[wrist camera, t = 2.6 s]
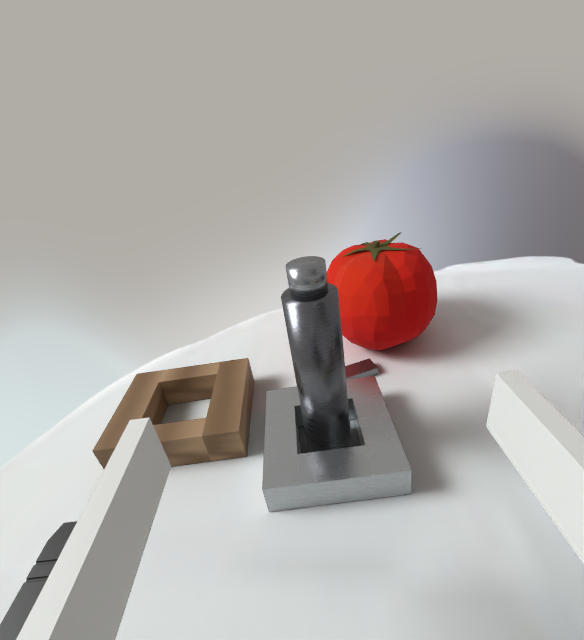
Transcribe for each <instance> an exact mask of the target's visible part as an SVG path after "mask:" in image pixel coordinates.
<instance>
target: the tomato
mask: <svg viewBox="0 0 584 640" xmlns="http://www.w3.org/2000/svg"><path fill="white" fill-rule="evenodd" d="M399 234H400V233H398V234H397V235H395V236H394V237H393V238H391V239H390V240H388V241H387V240H379V241H373V242H371V243H368V242H366V243H363V244H365V245H363V244H361V245H354V246H351V247H349V248H347V249H344V250H343V251H342V252H340V253H339V254H338V255H337V256H336V257H335V258H334V259H333V260H332V262H331V264H330V266H329V269H328V271H327V283H330V284H333V285H335V286H336V287H337V289H338V296H339V307H340V318H341V329H342V335H343V336H344V337H345V338H347V339H348V340H349V341H350V342H352V343H354V344H357V345H359V346H362V347H365V348H367V349H371V350H385V349H387V348H390V347H393V346H396V345H399V344H401V343H404V342H407V341H410V340H412V339H414V338H416V337H417V336H418V335H419V334H421V333H422V332H423V331H424V330H425V329H426V327H427V326H428V324H429V323H430V321H431V320H432V318H433V316H434V315H435V310H436V304H437V286H436V279H435V276H434V272H433V269H432V266H431V265H430V263H429V262H428V261H427V259H426V258H425V257H424V255H423V254H422V253H421V251H420V250H419V248H416V247H413V246H411V245H408V244H405V243H390V242H392V241H393V240H394V239H395V238H396V237H397V236H398V235H399Z"/></svg>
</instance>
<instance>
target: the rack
mask: <svg viewBox="0 0 584 640" xmlns="http://www.w3.org/2000/svg"><path fill="white" fill-rule="evenodd" d="M253 384H254V379H253V375H252V371H251V367H250V363H249V359H248V358H245V359H238V360H231V361H224V362H217V363H210V364H203V365H196V366H189V367H182V368H175V369H168V370H161V371H154V372H147V373H140V374H137V375H136V376H135V378H134V380H133V381H132V383H131V385H130V387H129V388H128V390H127V392H126V394H125V395H124V397H123V399H122V401H121V402H120V404H119V406H118V407H117V409H116V411H115V413H114V414H113V416H112V418H111V420H110V421H109V423H108V425H107V427H106V428H105V430H104V432H103V434H102V435H101V437H100V439H99V440H98V442H97V444H96V446H95V447H94V449H93V453H94V454H95V456H96V457H97V459H98V461H99V462H100V464H101V465H102V467H103V469H105V467H106V465H107V463H108V461H109V459H110V457H111V455H112V454H113V452H114V450H115V448H116V446H117V444H118V442H119V440H120V438H121V436H122V434H123V432H124V430H125V428H126V427H127V425H128V423H129V421H130V420H134V419H142V418H150V420H151V422H152V424H153V427H154V429H155V431H156V433H157V435H158V438H159V440H160V442H161V444H162V447H163V449H164V451H165V453H166V455H167V458H168V460H169V462H170V464H171V467H172V466H179V465H187V464H195V463H202V462H210V461H217V460H225V459H232V458H240V457H247V448H248V437H249V426H250V416H251V405H252V395H253ZM210 398H211V401H210V405H209V409H208V413H207V417H206V418H201V419H194V420H187V421H179V422H172V423H165V424H161V421H162V419H163V416H164V414H165V411H166V409H167V406H168V404H174V403H182V402H189V401H196V400H203V399H210Z"/></svg>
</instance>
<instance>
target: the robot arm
mask: <svg viewBox="0 0 584 640" xmlns="http://www.w3.org/2000/svg"><path fill="white" fill-rule="evenodd" d="M486 427H487V429H488V430H489V432H490V433H491V434H492V436H493V437H494V439H495V440H496V441H497V443H498V444H499V446H500V447H501V449H502V450H503V451H504V453H505V454H506V456H507V457H508V458H509V460H510V461H511V463H512V464H513V465H514V467H515V468H516V470H517V471H518V472H519V474H520V475H521V477H522V478H523V479H524V481H525V482H526V484H527V485H528V487H529V488H530V489H531V491H532V492H533V494H534V495H535V496H536V498H537V499H538V501H539V502H540V503H541V505H542V506H543V508H544V509H545V510H546V512H547V513H548V515H549V516H550V517H551V519H552V520H553V522H554V523H555V525H556V526H557V527H558V529H559V530H560V532H561V533H562V534H563V536H564V537H565V539H566V540H567V541H568V543H569V544H570V546H571V547H572V548H573V550H574V551H575V553H576V554H577V555H578V557H579V558H580V560H581V561H582V563H583V564H584V436H583V435H582V434H581V433H580V432H579V431H578V430H577V429H576V428H575V427H574V426H573V425H572V424H571V423H570V422H569V421H568V420H567V419H566V418H565V417H564V416H563V415H562V414H561V413H560V412H559V411H558V410H557V409H556V408H555V407H554V406H553V405H552V404H551V403H550V402H549V401H548V400H547V399H546V398H545V397H544V396H543V395H542V394H541V393H540V392H538V391H537V390H536V389H535V388H534V387H533V386H532V385H531V384H530V383H529V382H528V381H527V380H526V379H525V378H524V377H523V376H522V375H521V374H520V373H519V372H518V371H517V370H516V371H508V372H500V373H496V376H495V382H494V387H493V392H492V398H491V403H490V408H489V414H488V419H487V425H486ZM170 468H171V464H170V462H169V460H168V458H167V455H166V453H165V451H164V449H163V447H162V444H161V442H160V440H159V438H158V435H157V433H156V431H155V429H154V427H153V424H152V422H151V420H150V418H142V419H134V420H130V421H129V423H128V425H127V427H126V428H125V430H124V432H123V434H122V436H121V438H120V440H119V442H118V444H117V446H116V448H115V450H114V452H113V454H112V455H111V457H110V459H109V461H108V463H107V465H106V467H105V469H104V471H103V473H102V475H101V477H100V479H99V481H98V482H97V484H96V486H95V488H94V490H93V492H92V494H91V496H90V498H89V500H88V502H87V504H86V506H85V508H84V510H83V511H82V513H81V515H80V517H79V519H78V521H76V522H68V523H63V525H62V526H61V527H60V528H59V529H58V530H57V531H56V532H55V533H54V535H53V536H52V537H51V538H50V539H49V540H48V541H47V543H46V545H45V547H44V548H43V550H42V552H41V554H40V555H39V557H38V559H37V561H36V565H34V566H33V568H32V570H31V571H30V573H29V575H28V577H27V581H26V582H25V583H24V584H23V585H22V587H21V589H20V591H19V593H18V594H17V596H16V598H15V600H14V601H13V603H12V605H11V607H10V608H9V610H8V612H7V614H6V615H5V617H4V619H3V621H2V623H1V624H0V640H115V638H116V635H117V632H118V629H119V626H120V623H121V620H122V616H123V613H124V610H125V607H126V604H127V601H128V598H129V595H130V592H131V589H132V585H133V582H134V579H135V576H136V573H137V570H138V567H139V564H140V561H141V558H142V554H143V551H144V548H145V545H146V542H147V539H148V536H149V533H150V530H151V527H152V523H153V520H154V517H155V514H156V511H157V508H158V505H159V502H160V499H161V496H162V492H163V489H164V486H165V483H166V480H167V477H168V474H169V471H170Z"/></svg>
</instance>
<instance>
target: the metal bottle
mask: <svg viewBox="0 0 584 640" xmlns="http://www.w3.org/2000/svg"><path fill="white" fill-rule="evenodd" d="M286 272H287V278H288V283H289V288H288V289H287V290H285V291H284V293H283V294H282V296H281V299H282V304H283V311H284V316H285V322H286V327H287V333H288V338H289V344H290V349H291V355H292V361H293V366H294V372H295V377H296V383H297V388H298V394H299V399H300V405H301V410H302V416H303V422H304V427H305V433H306V438H307V444H308V449H309V453H310V452H317V451H325V450H332V449H340V448H348V447H352V440H351V429H350V418H349V407H348V396H347V385H346V373H345V362H344V351H343V340H342V329H341V318H340V307H339V296H338V289H337V287H336V286H335V285H333V284H330V283H327V273H326V264H325V260H324V259H323V258H321V257H316V256H309V257H301V258H297V259H294V260H292V261H290V262H288V263H287V264H286Z"/></svg>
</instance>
